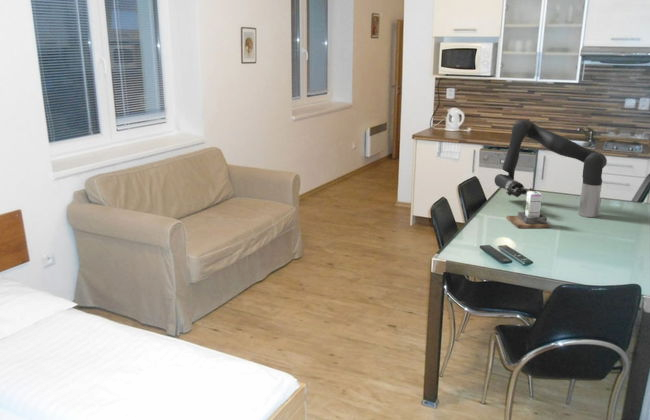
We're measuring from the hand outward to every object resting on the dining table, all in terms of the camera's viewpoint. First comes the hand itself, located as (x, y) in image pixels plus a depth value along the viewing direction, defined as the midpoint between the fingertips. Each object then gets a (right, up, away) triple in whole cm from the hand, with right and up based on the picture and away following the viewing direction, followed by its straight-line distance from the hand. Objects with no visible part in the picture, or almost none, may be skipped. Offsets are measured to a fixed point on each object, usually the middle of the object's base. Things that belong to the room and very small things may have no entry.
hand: (526, 195), depth 300 cm
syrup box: (0, -13, -8) cm, 15 cm away
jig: (-2, -14, -8) cm, 16 cm away
